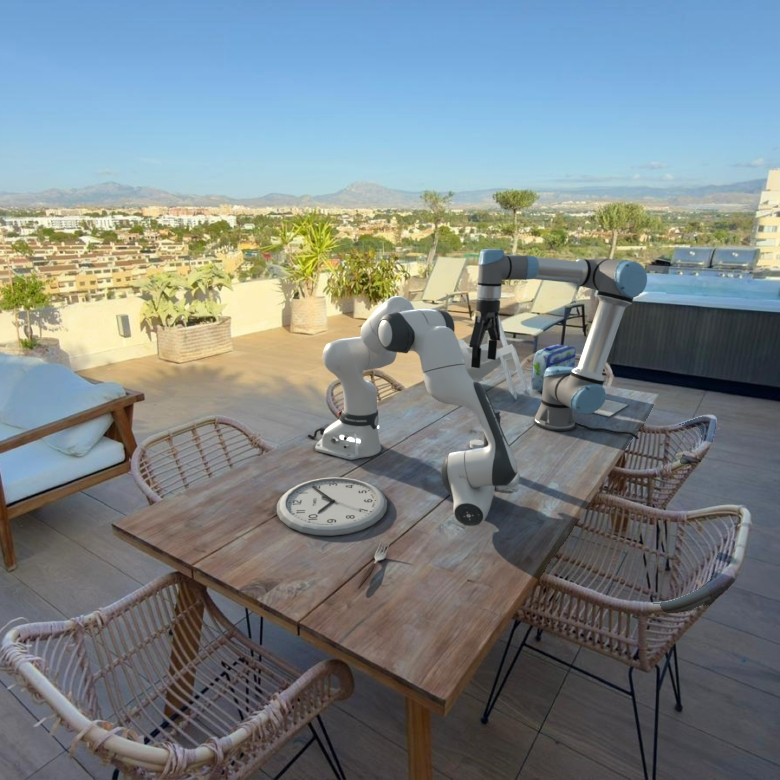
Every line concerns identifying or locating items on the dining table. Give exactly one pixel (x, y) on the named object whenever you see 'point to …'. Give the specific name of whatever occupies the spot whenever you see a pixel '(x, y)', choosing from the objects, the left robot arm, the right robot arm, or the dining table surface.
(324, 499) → the wall clock
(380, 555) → the fork
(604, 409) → the invitation card
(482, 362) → the white plastic object
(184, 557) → the dining table surface
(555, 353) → the lunch box
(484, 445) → the dark grey cylinder
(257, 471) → the dining table surface
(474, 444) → the cream round lid
